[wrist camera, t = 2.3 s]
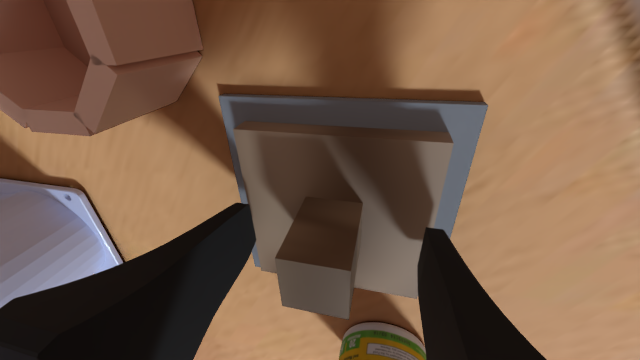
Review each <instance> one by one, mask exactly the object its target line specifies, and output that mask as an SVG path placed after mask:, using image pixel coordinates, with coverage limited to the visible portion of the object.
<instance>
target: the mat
mask: <svg viewBox="0 0 640 360" xmlns="http://www.w3.org/2000/svg"><path fill="white" fill-rule="evenodd" d="M219 101H220V106H221V110H222V115H223V120H224V124H225V129H226V133H227V138H228V143H229V147H230V152H231V157H232V161H233V166H234V171H235V175H236V180H237V184H238V189H239V194H240V198H241V203H243V204H248V202H247V197H246V192H245V187H244V182H243V177H242V172H241V167H240V162H239V157H238V152H237V147H236V142H235V137H234V132H233V129H234V128H236V127H237V126H238V125H240V124H241V123H243V122H244V121H254V122H273V123H291V124H309V125H327V126H345V127H363V128H381V129H399V130H418V131H436V132H449V133H450V136H451V138H452V140H453V143H454V145H453V149H452V153H451V157H450V161H449V166H448V170H447V174H446V178H445V182H444V187H443V191H442V195H441V199H440V203H439V207H438V212H437V216H436V220H435V224H434V228H436V229H443V230H444V231H445V232H446V234H447V235H448V237H449V239H450V237H451V233H452V230H453V226H454V223H455V219H456V216H457V212H458V209H459V205H460V202H461V198H462V195H463V191H464V188H465V184H466V181H467V177H468V174H469V170H470V167H471V163H472V160H473V156H474V153H475V149H476V146H477V142H478V139H479V135H480V132H481V128H482V125H483V121H484V118H485V114H486V111H487V107H488V105H487V104H486V103H485V102H466V101H435V100H403V99H372V98H341V97H310V96H279V95H247V94H222V95H220V96H219ZM252 254H253V259H254V263H255V266H257V267H261V266H260V261H259V256H258V251H257V246H256V242H255V245H254V247H253V249H252Z"/></svg>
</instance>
